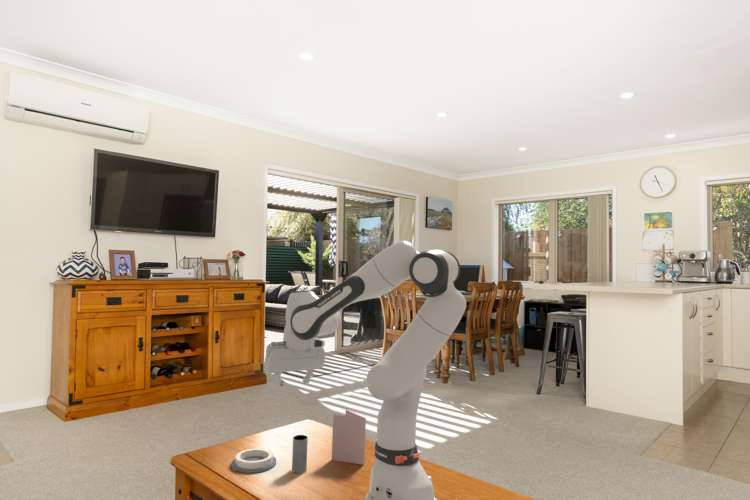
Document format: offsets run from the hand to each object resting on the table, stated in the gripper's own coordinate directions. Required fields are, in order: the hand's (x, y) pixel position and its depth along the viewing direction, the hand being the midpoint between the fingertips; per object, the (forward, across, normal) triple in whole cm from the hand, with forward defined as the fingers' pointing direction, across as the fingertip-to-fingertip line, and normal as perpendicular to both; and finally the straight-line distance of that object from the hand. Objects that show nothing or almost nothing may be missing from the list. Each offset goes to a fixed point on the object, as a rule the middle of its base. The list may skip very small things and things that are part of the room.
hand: (292, 384), depth 152 cm
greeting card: (+26, +20, -6) cm, 33 cm away
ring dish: (+28, -6, +9) cm, 30 cm away
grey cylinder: (+27, +3, -4) cm, 27 cm away
